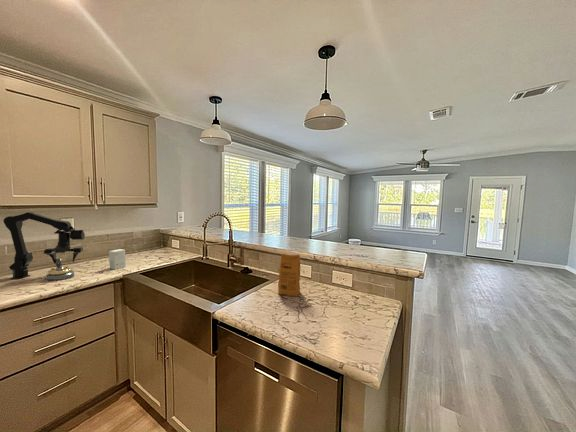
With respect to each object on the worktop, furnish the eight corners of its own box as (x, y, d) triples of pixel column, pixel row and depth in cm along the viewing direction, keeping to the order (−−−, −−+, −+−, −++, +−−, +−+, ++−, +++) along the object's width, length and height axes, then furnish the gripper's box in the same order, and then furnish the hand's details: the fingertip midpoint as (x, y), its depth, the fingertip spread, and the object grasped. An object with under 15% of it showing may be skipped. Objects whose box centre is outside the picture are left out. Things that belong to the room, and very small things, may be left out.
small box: (120, 265, 184) (119, 248, 183) (126, 266, 182) (125, 249, 181) (109, 268, 177) (108, 250, 176) (115, 269, 174) (114, 251, 174)
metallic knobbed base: (72, 272, 155) (72, 262, 154) (48, 276, 147) (48, 265, 146) (69, 267, 167) (69, 257, 166) (47, 270, 159) (46, 260, 158)
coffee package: (281, 288, 141) (282, 251, 140) (302, 291, 137) (302, 253, 136) (275, 294, 132) (275, 255, 130) (297, 297, 128) (297, 257, 126)
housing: (36, 281, 148) (36, 276, 148) (63, 272, 166) (63, 268, 166) (61, 281, 148) (60, 276, 148) (85, 272, 166) (85, 268, 166)
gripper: (39, 242, 151) (40, 266, 152) (77, 241, 159) (78, 264, 160) (47, 239, 161) (48, 262, 162) (83, 238, 169) (83, 260, 170)
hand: (64, 262), depth 163 cm, fingers open, 9 cm apart
